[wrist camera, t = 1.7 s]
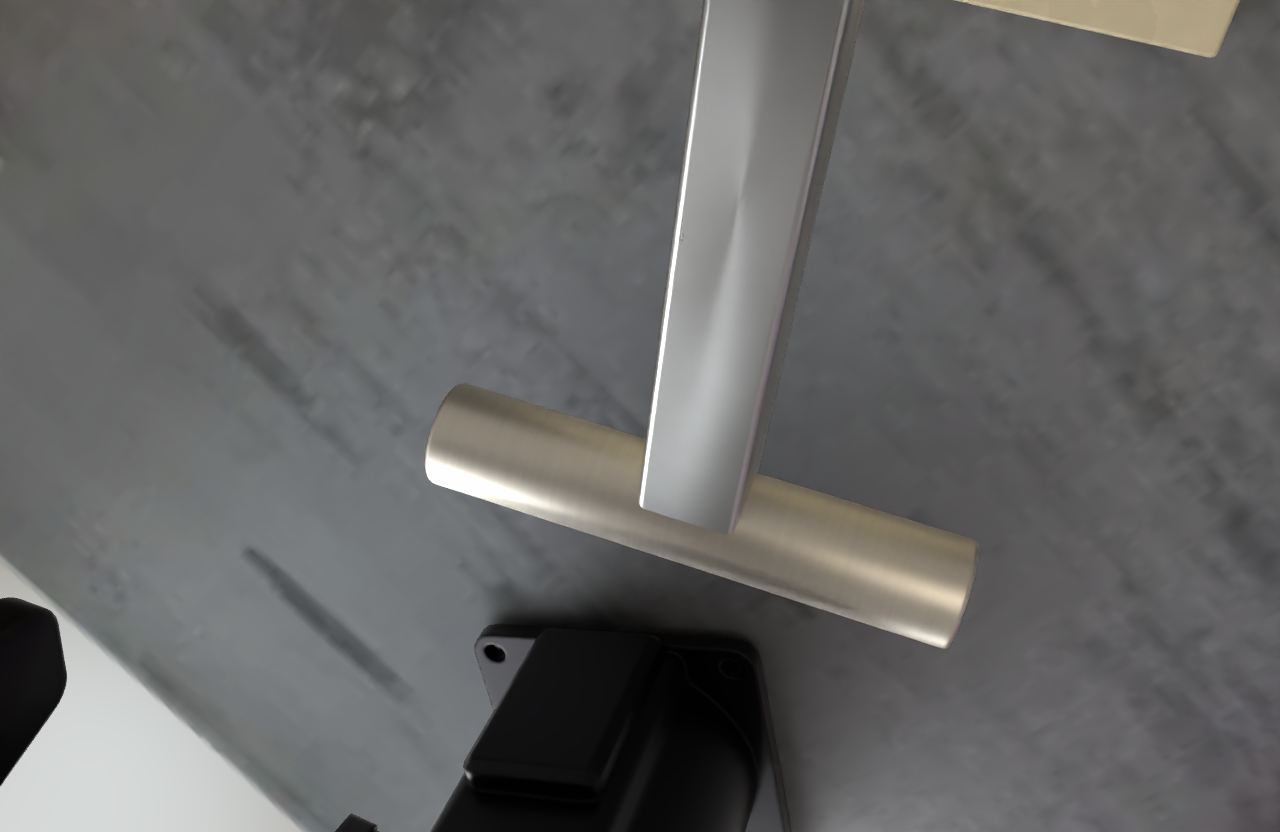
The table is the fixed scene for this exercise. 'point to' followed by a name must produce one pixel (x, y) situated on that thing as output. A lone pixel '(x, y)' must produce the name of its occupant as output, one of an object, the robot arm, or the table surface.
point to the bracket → (1136, 19)
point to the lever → (726, 361)
